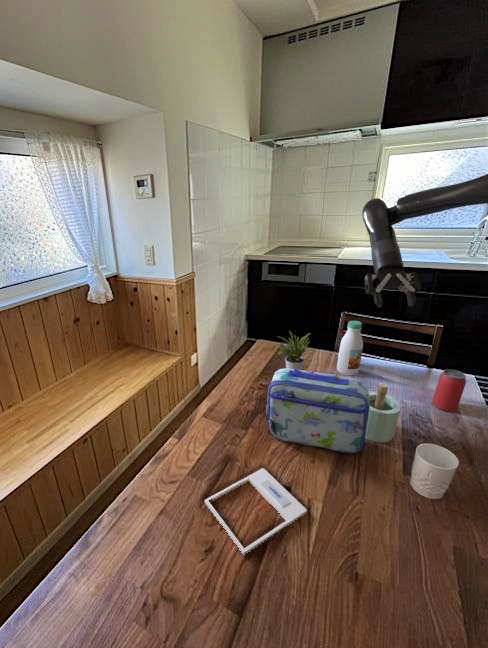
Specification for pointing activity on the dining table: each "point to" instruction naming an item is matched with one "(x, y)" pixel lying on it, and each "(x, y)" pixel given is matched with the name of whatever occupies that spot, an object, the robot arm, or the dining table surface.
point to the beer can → (449, 390)
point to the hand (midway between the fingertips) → (396, 305)
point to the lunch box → (318, 410)
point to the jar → (382, 419)
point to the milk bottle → (350, 350)
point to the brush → (380, 396)
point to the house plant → (294, 352)
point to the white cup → (432, 470)
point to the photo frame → (273, 494)
